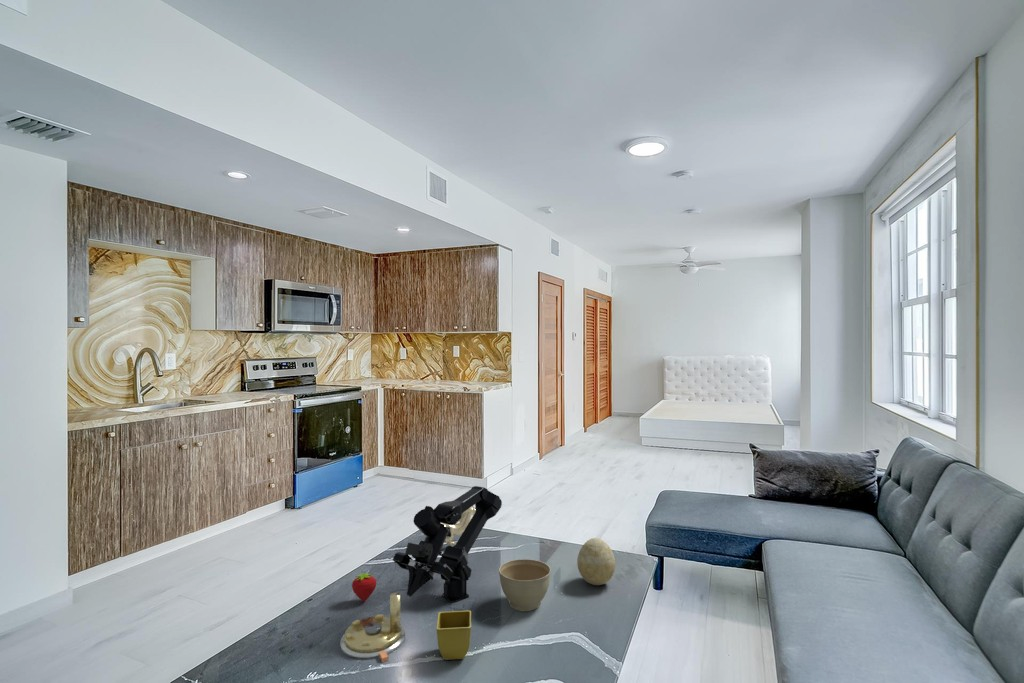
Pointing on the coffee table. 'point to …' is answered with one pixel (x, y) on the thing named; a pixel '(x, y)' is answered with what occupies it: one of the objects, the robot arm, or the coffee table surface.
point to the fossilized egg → (596, 562)
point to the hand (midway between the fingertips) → (408, 595)
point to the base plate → (373, 629)
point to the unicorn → (459, 525)
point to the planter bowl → (524, 583)
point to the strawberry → (364, 586)
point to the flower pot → (454, 634)
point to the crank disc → (380, 641)
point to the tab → (383, 656)
